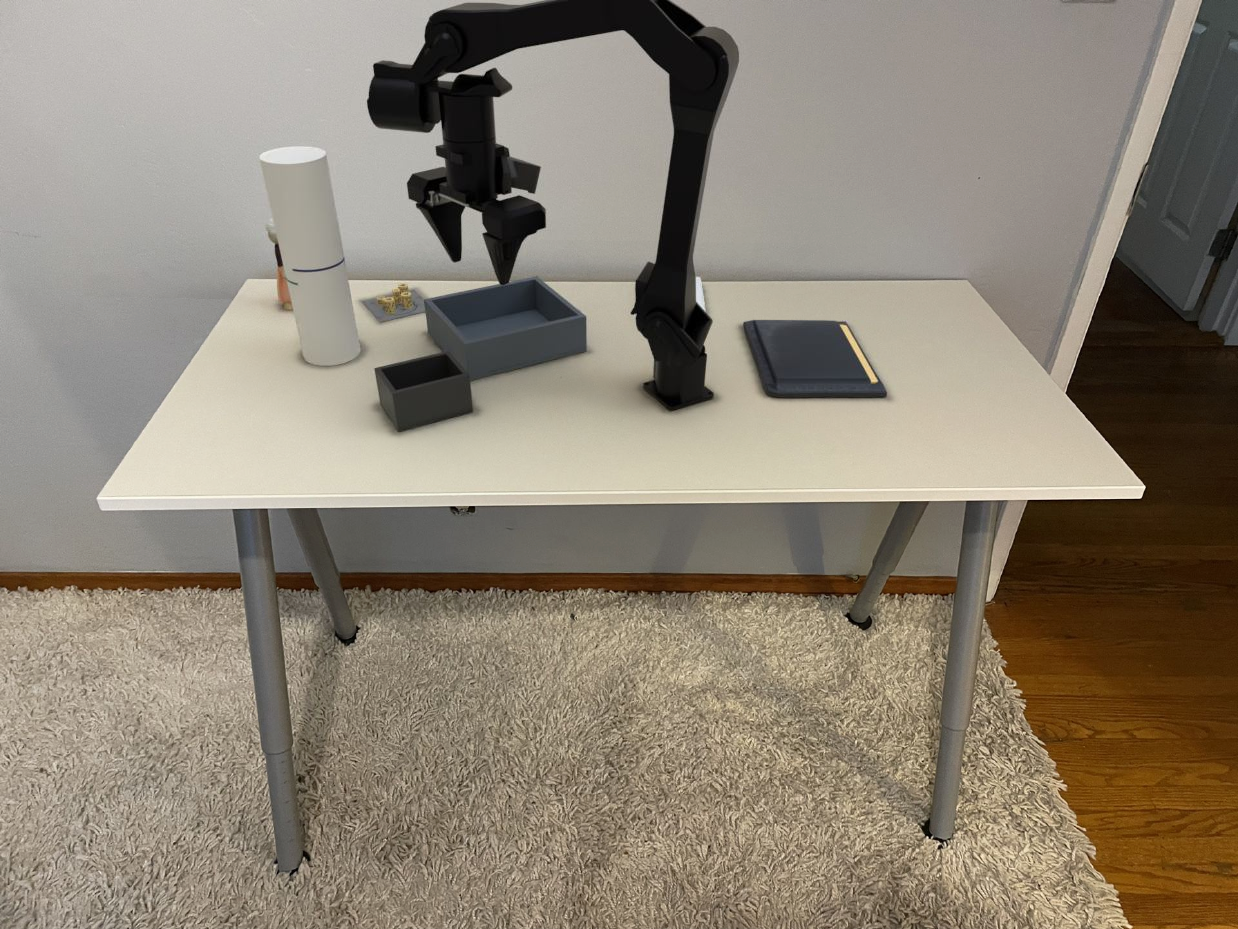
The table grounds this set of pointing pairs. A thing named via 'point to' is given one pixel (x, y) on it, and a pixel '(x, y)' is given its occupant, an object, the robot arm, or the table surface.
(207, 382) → the table surface
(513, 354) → the grey bin
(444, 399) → the black bin
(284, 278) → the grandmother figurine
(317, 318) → the cylindrical container
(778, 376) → the wallet
